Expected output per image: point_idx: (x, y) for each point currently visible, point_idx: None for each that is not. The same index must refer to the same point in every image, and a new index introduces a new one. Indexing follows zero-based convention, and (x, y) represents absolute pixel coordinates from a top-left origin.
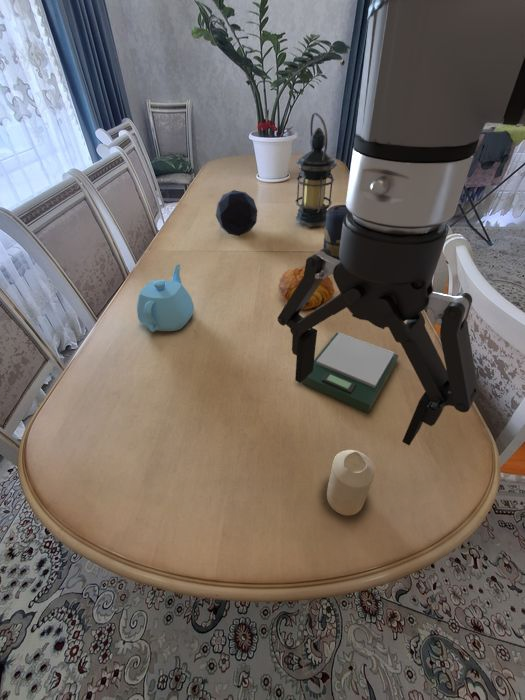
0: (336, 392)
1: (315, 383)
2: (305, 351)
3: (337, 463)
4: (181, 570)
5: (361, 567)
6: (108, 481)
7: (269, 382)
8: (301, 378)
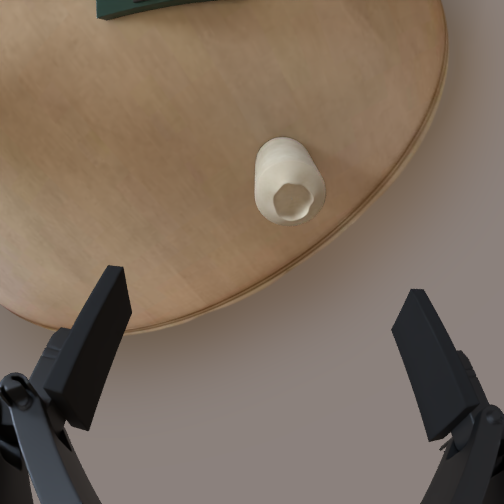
0: (173, 1)
1: (127, 11)
2: (96, 383)
3: (265, 209)
4: (179, 314)
5: (331, 226)
6: (64, 296)
7: (64, 61)
8: (127, 319)
